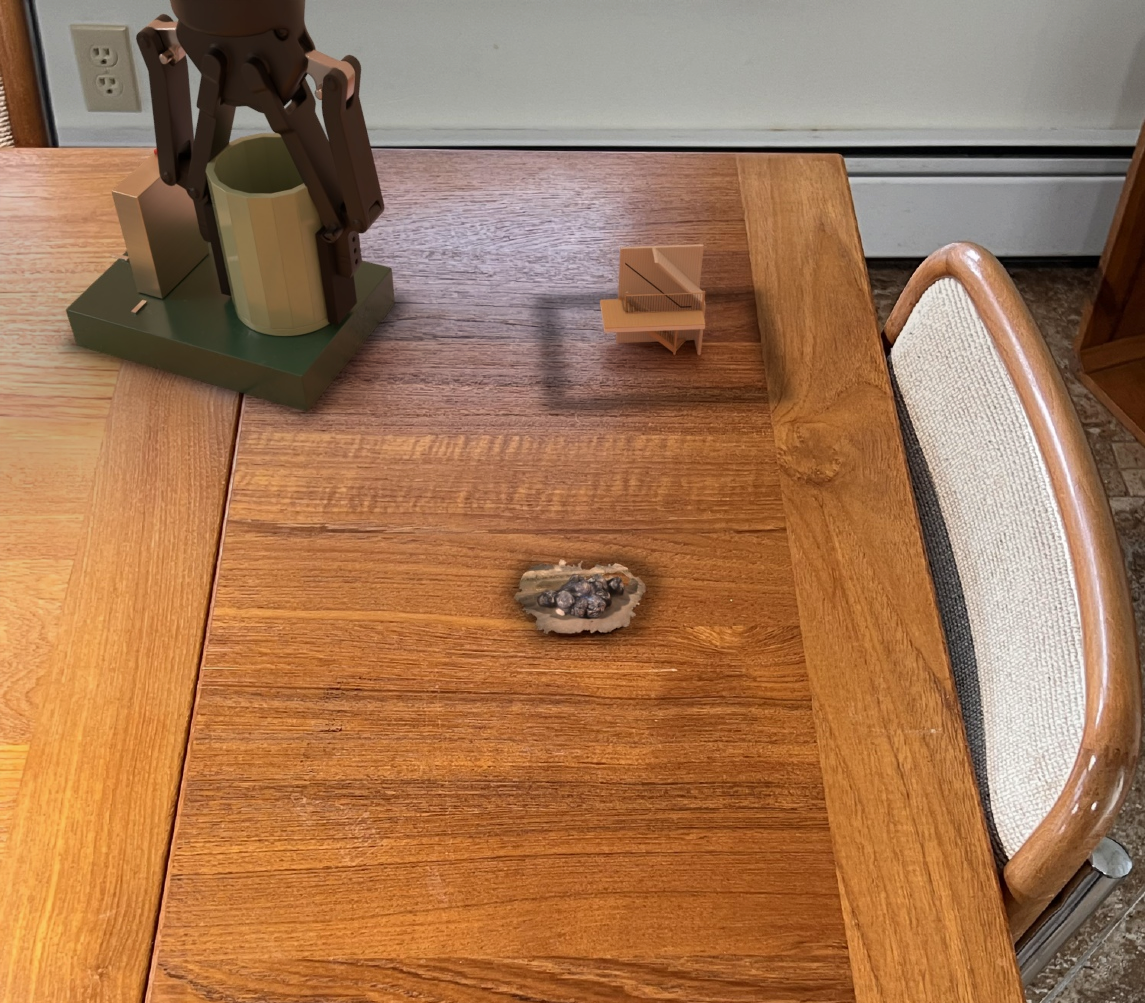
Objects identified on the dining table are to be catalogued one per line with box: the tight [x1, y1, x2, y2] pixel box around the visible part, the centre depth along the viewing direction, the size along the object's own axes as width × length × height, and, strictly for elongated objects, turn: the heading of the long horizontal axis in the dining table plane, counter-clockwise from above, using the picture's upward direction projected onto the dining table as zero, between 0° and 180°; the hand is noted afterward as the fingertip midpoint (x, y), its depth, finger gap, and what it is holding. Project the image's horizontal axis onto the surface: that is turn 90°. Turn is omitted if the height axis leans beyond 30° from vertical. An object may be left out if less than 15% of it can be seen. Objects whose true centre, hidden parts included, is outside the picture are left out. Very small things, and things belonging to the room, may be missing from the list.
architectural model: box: [599, 243, 707, 356], centre depth 95 cm, size 3×7×7 cm, turn 95°
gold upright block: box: [111, 147, 209, 299], centre depth 95 cm, size 6×2×8 cm, turn 157°
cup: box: [206, 132, 330, 336], centre depth 92 cm, size 7×7×10 cm
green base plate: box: [65, 242, 396, 413], centre depth 98 cm, size 19×13×3 cm
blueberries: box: [513, 559, 647, 634], centre depth 83 cm, size 7×8×2 cm
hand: (289, 297), depth 96 cm, fingers closed on cup, 7 cm apart
